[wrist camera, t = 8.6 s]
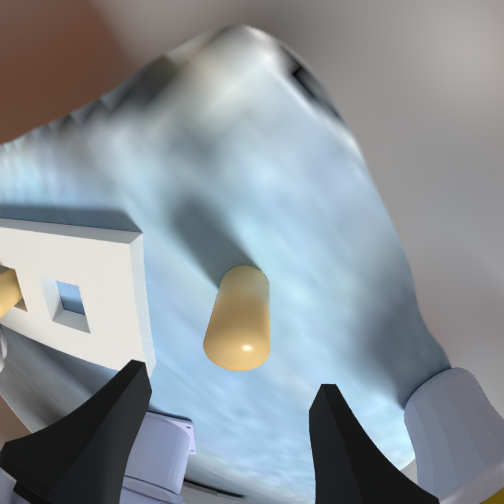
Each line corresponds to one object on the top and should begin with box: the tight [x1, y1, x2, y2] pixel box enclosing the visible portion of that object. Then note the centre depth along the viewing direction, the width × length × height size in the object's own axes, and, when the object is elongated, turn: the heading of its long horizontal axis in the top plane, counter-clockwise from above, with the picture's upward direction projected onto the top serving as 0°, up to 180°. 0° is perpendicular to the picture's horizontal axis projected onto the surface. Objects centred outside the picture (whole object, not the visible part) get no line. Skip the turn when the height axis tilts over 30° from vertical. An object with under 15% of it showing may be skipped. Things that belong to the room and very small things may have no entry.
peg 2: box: [203, 265, 270, 371], centre depth 15 cm, size 3×3×6 cm
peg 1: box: [0, 268, 23, 319], centre depth 16 cm, size 3×3×6 cm
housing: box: [0, 218, 156, 379], centre depth 18 cm, size 12×22×2 cm, turn 84°
